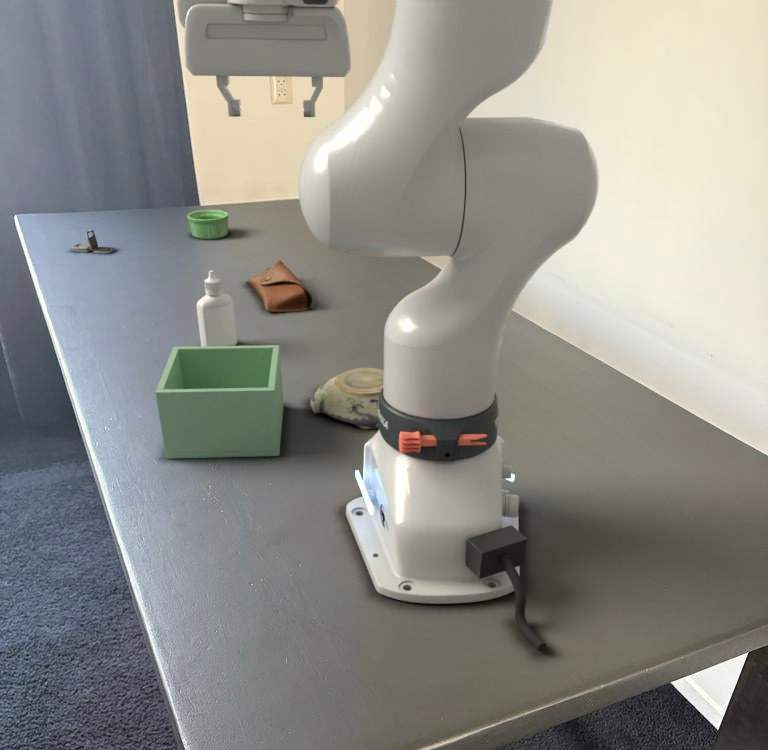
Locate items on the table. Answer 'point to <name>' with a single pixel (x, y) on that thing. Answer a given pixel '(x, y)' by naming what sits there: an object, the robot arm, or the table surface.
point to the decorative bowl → (351, 397)
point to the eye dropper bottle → (216, 315)
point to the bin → (221, 402)
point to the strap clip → (91, 245)
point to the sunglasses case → (280, 290)
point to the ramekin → (208, 224)
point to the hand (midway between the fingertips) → (272, 116)
